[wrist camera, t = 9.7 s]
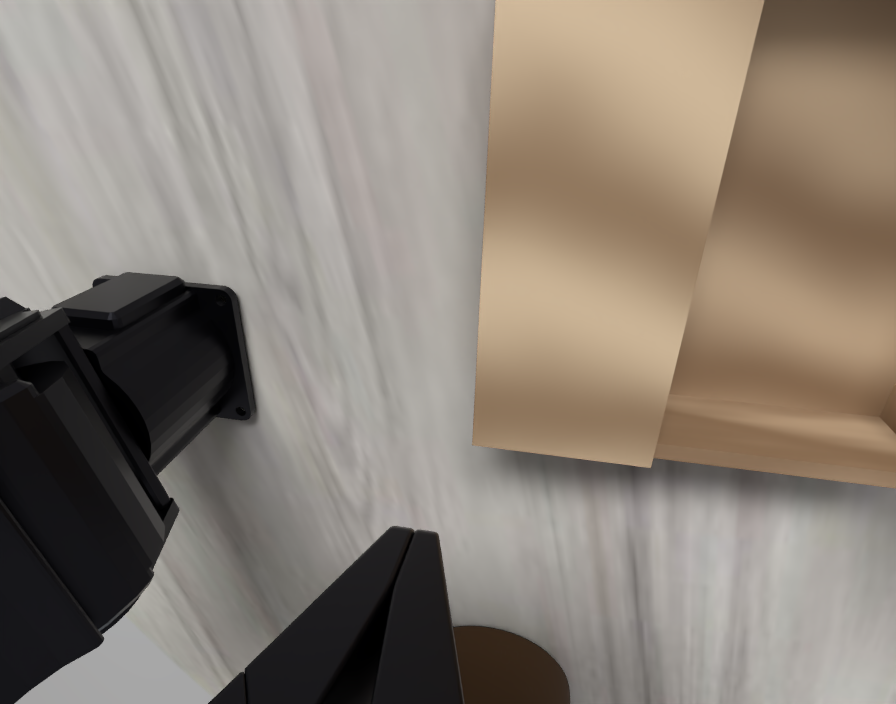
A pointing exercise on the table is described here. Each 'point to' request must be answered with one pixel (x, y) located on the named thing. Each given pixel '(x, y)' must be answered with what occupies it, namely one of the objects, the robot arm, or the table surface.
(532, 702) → the olive oil
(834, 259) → the wooden box
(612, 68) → the flap
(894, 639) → the table surface
